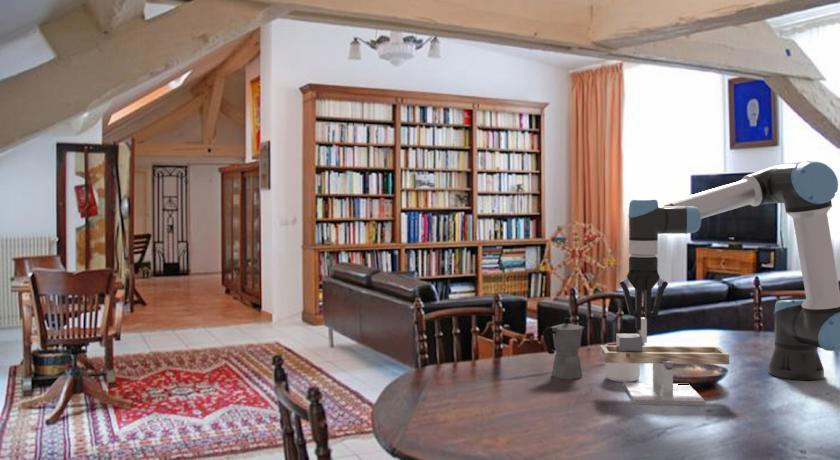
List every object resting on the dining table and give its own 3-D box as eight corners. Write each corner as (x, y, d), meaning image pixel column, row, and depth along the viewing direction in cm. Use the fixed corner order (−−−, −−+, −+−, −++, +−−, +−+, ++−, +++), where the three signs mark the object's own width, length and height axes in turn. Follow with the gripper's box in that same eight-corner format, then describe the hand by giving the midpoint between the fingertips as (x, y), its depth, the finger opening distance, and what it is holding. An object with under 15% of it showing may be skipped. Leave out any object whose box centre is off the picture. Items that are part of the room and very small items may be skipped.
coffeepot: (574, 370, 226) (574, 313, 226) (594, 376, 218) (594, 318, 217) (534, 376, 220) (534, 317, 219) (552, 382, 211) (552, 322, 211)
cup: (641, 384, 209) (641, 350, 209) (606, 382, 211) (606, 349, 211) (637, 375, 219) (637, 343, 218) (604, 374, 221) (604, 342, 220)
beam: (718, 359, 199) (718, 346, 199) (729, 367, 188) (729, 354, 188) (600, 357, 203) (600, 345, 203) (605, 365, 192) (605, 353, 192)
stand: (688, 388, 204) (688, 349, 203) (705, 405, 186) (705, 363, 186) (623, 386, 206) (623, 348, 206) (634, 404, 188) (634, 362, 188)
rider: (638, 351, 199) (638, 333, 199) (642, 356, 193) (642, 337, 193) (616, 351, 200) (616, 333, 200) (619, 355, 194) (619, 337, 194)
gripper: (664, 254, 198) (664, 339, 199) (616, 254, 200) (616, 338, 201) (670, 256, 191) (670, 344, 192) (620, 256, 192) (620, 344, 193)
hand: (643, 341), depth 196 cm, fingers closed
